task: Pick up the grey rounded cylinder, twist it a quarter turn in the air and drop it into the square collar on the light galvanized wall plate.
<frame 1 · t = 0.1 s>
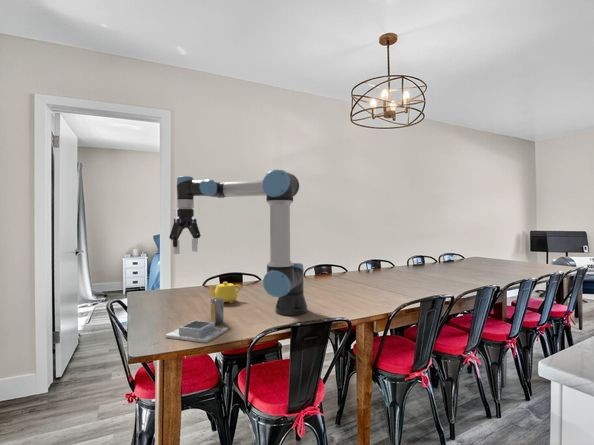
hand: (186, 252, 159), 28 cm above the table, fingers open, 13 cm apart
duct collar: (197, 333, 126), on the table
grey rounded cylinder: (217, 323, 140), on the table
teapot: (224, 302, 175), on the table
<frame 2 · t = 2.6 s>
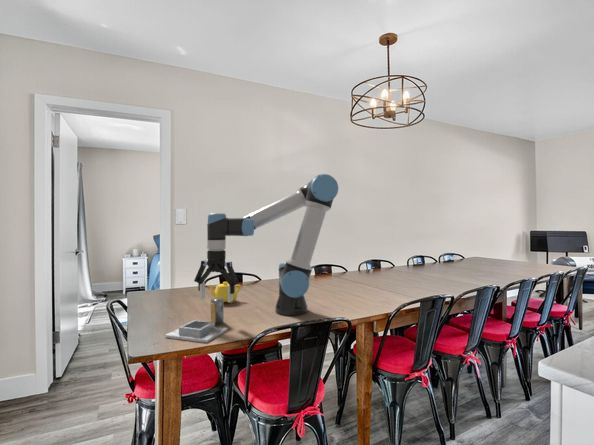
hand: (216, 300, 139), 10 cm above the table, fingers open, 13 cm apart
nothing on the table moved.
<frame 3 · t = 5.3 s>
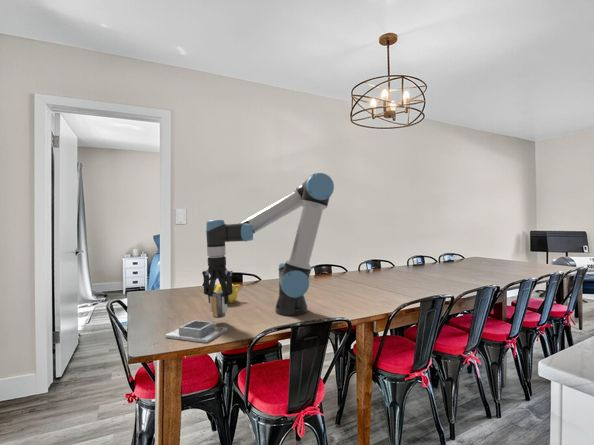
hand: (218, 311, 140), 5 cm above the table, fingers closed on grey rounded cylinder, 5 cm apart
grey rounded cylinder: (219, 316, 140), point 3 cm above the table, touching gripper
everything else where it was.
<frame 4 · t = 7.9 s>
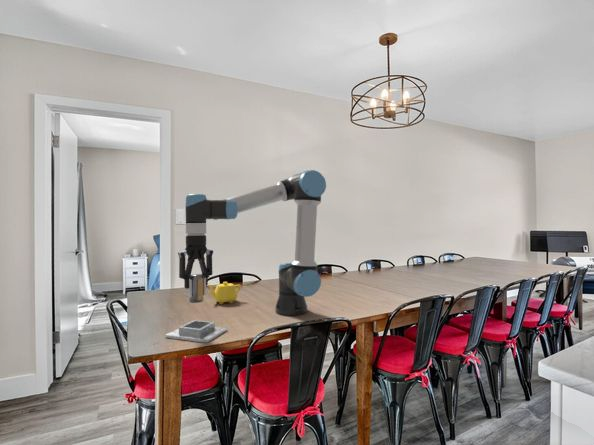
hand: (196, 295, 126), 15 cm above the table, fingers closed on grey rounded cylinder, 5 cm apart
grey rounded cylinder: (196, 301, 126), point 13 cm above the table, touching gripper
everything else where it was.
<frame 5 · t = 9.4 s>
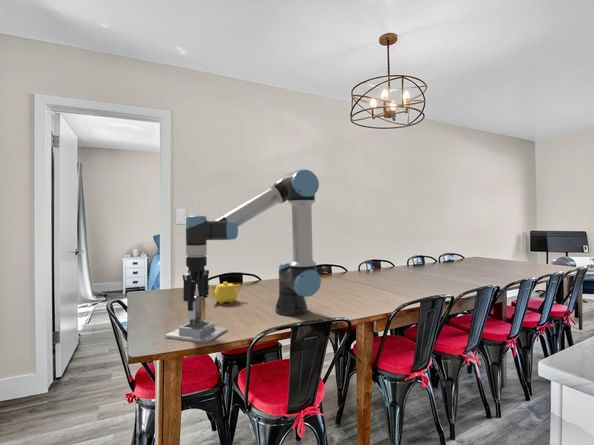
hand: (196, 316, 126), 7 cm above the table, fingers closed on grey rounded cylinder, 5 cm apart
grey rounded cylinder: (196, 322, 126), point 4 cm above the table, touching gripper
everything else where it was.
when the fingers open (5 cm above the table, at t = 10.4 s): grey rounded cylinder drops 1 cm, resting on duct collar.
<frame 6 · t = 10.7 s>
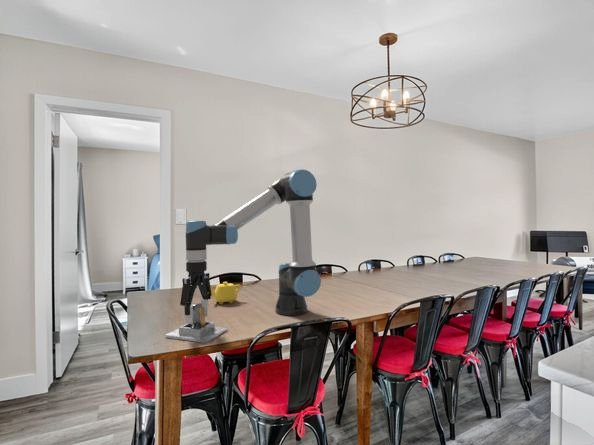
hand: (197, 319, 126), 6 cm above the table, fingers open, 9 cm apart
grey rounded cylinder: (197, 330, 126), point 1 cm above the table, touching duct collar
everything else where it was.
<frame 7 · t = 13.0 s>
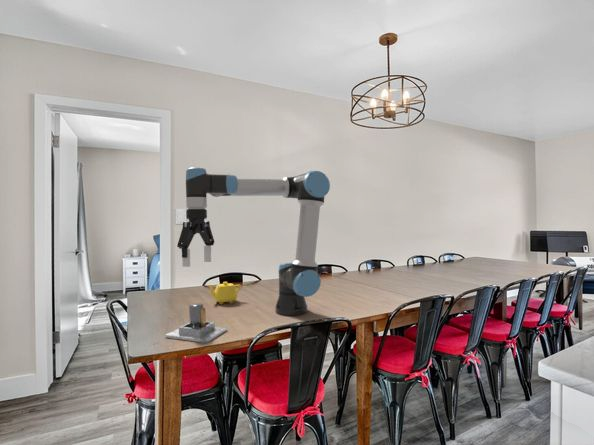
hand: (197, 264, 127), 27 cm above the table, fingers open, 13 cm apart
nothing on the table moved.
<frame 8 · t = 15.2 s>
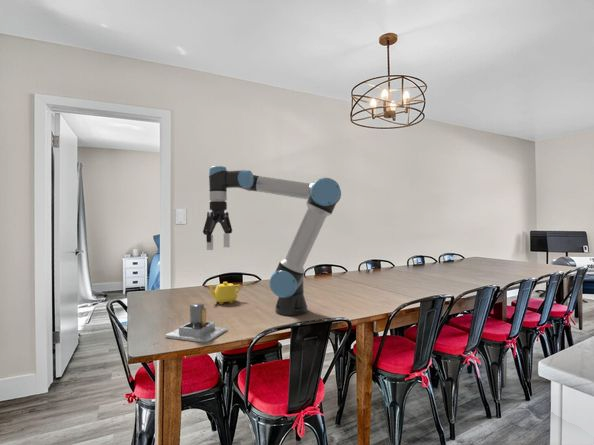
hand: (218, 248, 148), 31 cm above the table, fingers open, 13 cm apart
nothing on the table moved.
at the end: grey rounded cylinder 0.0 cm off-centre on the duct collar, point 1.1 cm above the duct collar's base; grey rounded cylinder tilted 2°; the gripper is holding nothing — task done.
